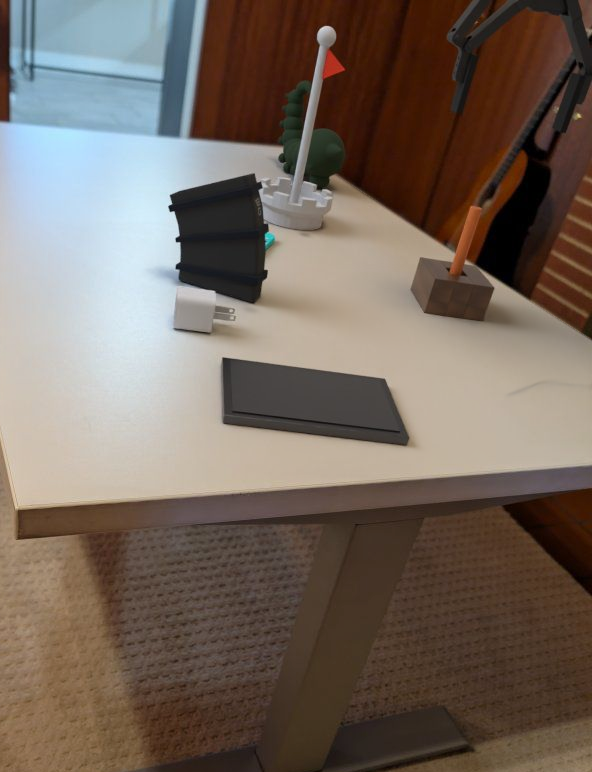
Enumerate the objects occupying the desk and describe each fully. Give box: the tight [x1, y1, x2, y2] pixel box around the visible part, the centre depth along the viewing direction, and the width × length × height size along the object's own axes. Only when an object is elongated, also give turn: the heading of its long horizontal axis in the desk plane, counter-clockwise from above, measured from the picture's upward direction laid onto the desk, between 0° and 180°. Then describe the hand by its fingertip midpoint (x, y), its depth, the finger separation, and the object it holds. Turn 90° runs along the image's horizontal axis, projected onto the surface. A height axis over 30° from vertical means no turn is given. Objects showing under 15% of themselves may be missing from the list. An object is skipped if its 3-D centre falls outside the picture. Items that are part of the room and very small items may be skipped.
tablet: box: [220, 356, 410, 446], centre depth 76 cm, size 18×12×1 cm, turn 93°
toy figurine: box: [277, 80, 346, 189], centre depth 154 cm, size 9×19×25 cm
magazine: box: [167, 172, 270, 303], centre depth 96 cm, size 4×13×15 cm, turn 69°
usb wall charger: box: [172, 285, 237, 334], centre depth 87 cm, size 4×7×4 cm, turn 94°
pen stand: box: [410, 256, 495, 322], centre depth 107 cm, size 9×9×5 cm
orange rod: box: [449, 205, 483, 275], centre depth 105 cm, size 2×2×14 cm
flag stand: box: [259, 25, 346, 231], centre depth 124 cm, size 13×13×30 cm
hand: (507, 121), depth 94 cm, fingers open, 13 cm apart
